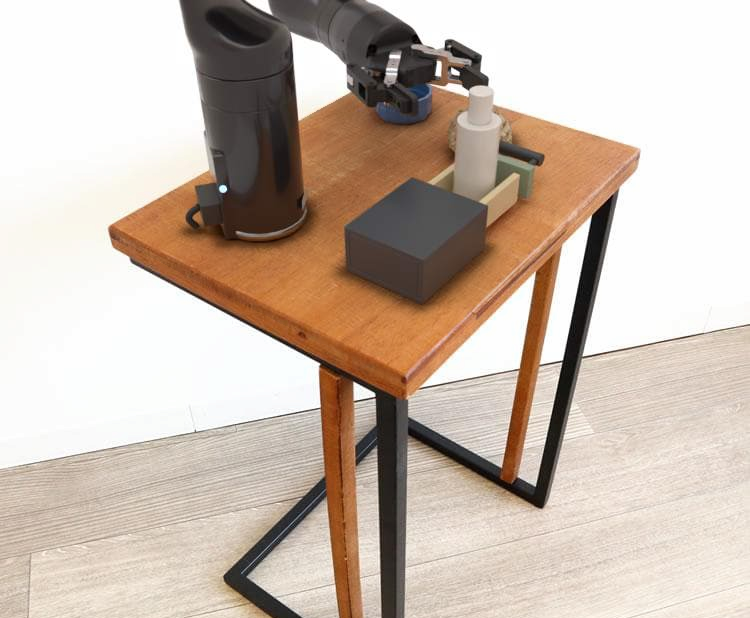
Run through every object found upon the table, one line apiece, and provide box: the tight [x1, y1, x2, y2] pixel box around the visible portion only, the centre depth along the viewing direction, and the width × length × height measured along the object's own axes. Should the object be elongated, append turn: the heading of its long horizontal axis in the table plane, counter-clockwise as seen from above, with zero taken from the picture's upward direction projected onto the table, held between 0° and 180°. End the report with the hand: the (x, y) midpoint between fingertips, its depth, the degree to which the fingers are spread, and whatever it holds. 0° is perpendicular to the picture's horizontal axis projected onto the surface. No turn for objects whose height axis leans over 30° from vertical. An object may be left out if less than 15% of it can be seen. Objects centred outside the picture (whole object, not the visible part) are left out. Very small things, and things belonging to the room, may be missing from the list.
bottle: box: [453, 85, 501, 202], centre depth 85 cm, size 4×4×12 cm
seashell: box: [446, 107, 513, 155], centre depth 100 cm, size 8×6×10 cm
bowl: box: [374, 83, 434, 125], centre depth 107 cm, size 7×7×3 cm
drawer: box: [427, 140, 546, 229], centre depth 90 cm, size 14×8×4 cm, turn 143°
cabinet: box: [343, 176, 488, 305], centre depth 83 cm, size 11×9×5 cm
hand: (451, 98), depth 86 cm, fingers open, 8 cm apart
